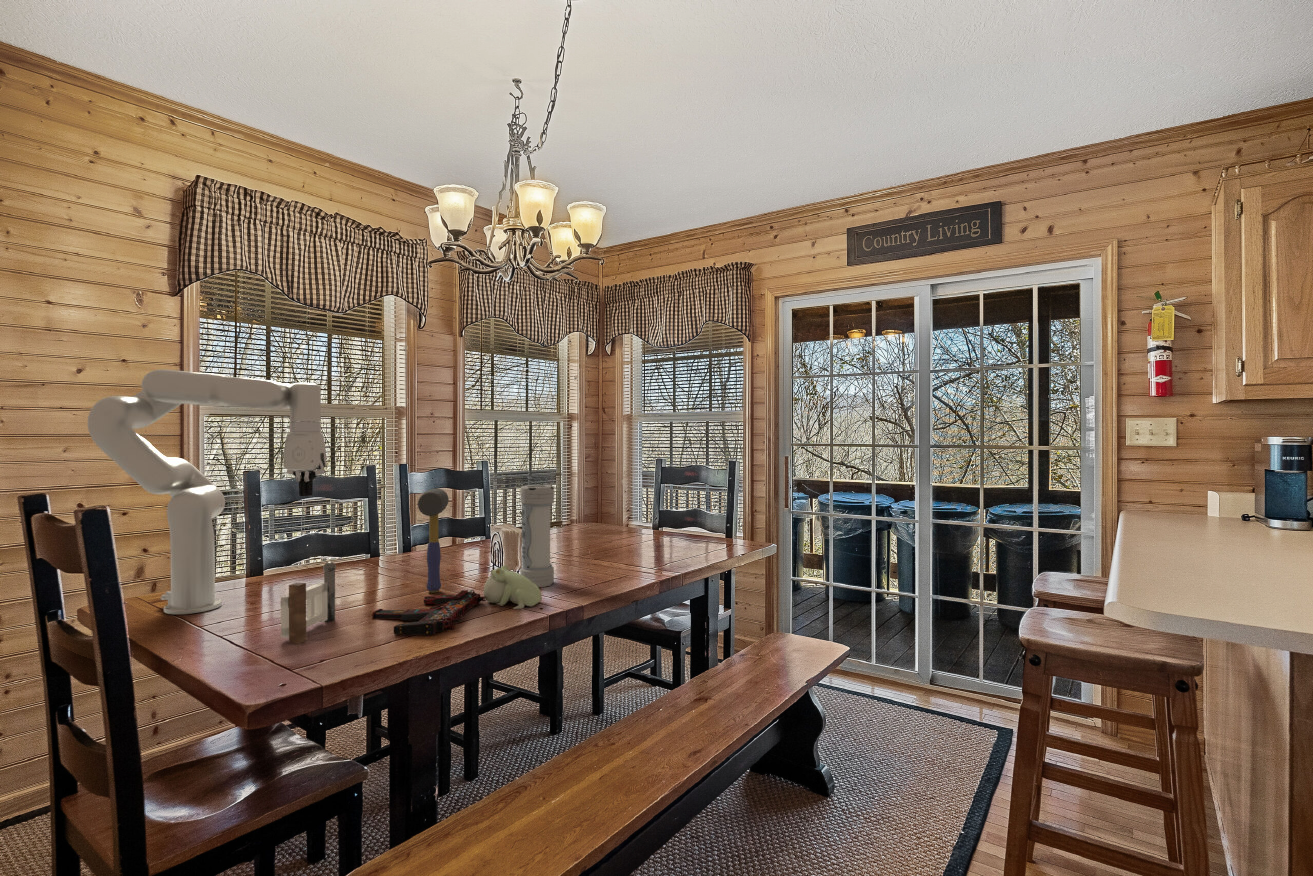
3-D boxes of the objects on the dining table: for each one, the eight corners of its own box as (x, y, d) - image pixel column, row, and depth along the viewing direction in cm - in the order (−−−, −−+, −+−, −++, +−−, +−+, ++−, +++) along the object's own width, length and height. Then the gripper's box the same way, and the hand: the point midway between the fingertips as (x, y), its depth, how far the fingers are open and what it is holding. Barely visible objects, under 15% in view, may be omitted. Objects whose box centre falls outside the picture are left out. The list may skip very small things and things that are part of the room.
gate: (281, 637, 149) (280, 597, 148) (321, 618, 163) (321, 581, 163) (289, 637, 148) (289, 597, 148) (329, 618, 163) (329, 582, 163)
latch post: (287, 643, 148) (287, 585, 147) (295, 640, 150) (294, 582, 150) (298, 644, 147) (298, 585, 147) (306, 640, 149) (306, 583, 149)
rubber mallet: (443, 597, 188) (443, 490, 187) (416, 598, 187) (415, 491, 186) (450, 586, 200) (450, 486, 200) (424, 587, 199) (424, 487, 199)
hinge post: (320, 621, 164) (320, 562, 163) (328, 618, 166) (328, 560, 166) (331, 622, 163) (330, 563, 163) (338, 619, 166) (338, 560, 166)
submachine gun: (408, 587, 189) (495, 584, 187) (409, 600, 189) (496, 597, 187) (346, 623, 154) (452, 620, 153) (347, 640, 154) (453, 636, 153)
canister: (515, 587, 200) (515, 487, 199) (527, 579, 210) (527, 484, 209) (547, 588, 198) (547, 488, 197) (558, 581, 208) (558, 485, 207)
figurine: (494, 597, 189) (494, 561, 189) (547, 601, 184) (547, 565, 184) (475, 606, 179) (475, 569, 179) (531, 611, 175) (531, 573, 175)
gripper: (271, 428, 179) (271, 496, 180) (320, 428, 177) (320, 497, 177) (291, 428, 187) (291, 493, 187) (339, 428, 184) (339, 495, 184)
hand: (305, 495), depth 182 cm, fingers closed
